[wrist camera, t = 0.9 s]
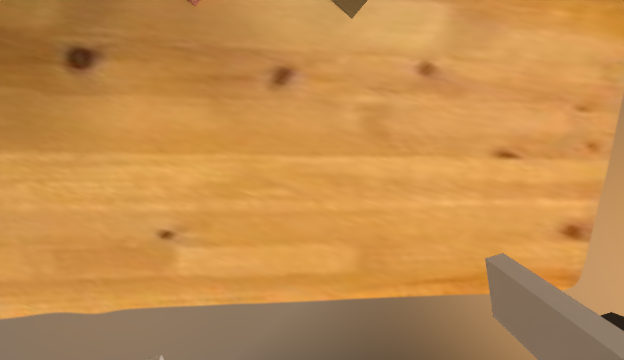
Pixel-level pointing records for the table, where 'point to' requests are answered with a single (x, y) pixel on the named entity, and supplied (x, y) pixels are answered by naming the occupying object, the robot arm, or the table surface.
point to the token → (194, 2)
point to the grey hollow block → (350, 6)
